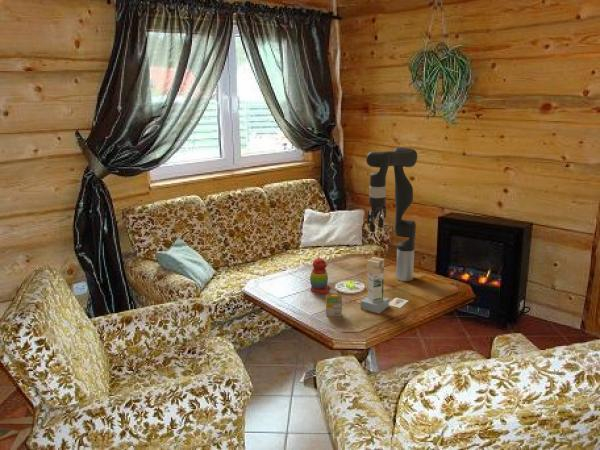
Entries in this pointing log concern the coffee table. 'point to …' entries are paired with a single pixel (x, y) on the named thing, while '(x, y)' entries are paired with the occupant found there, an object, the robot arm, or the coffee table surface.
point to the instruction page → (398, 302)
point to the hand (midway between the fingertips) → (376, 229)
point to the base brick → (374, 305)
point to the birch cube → (375, 265)
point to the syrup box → (375, 287)
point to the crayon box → (334, 304)
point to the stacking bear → (319, 277)
